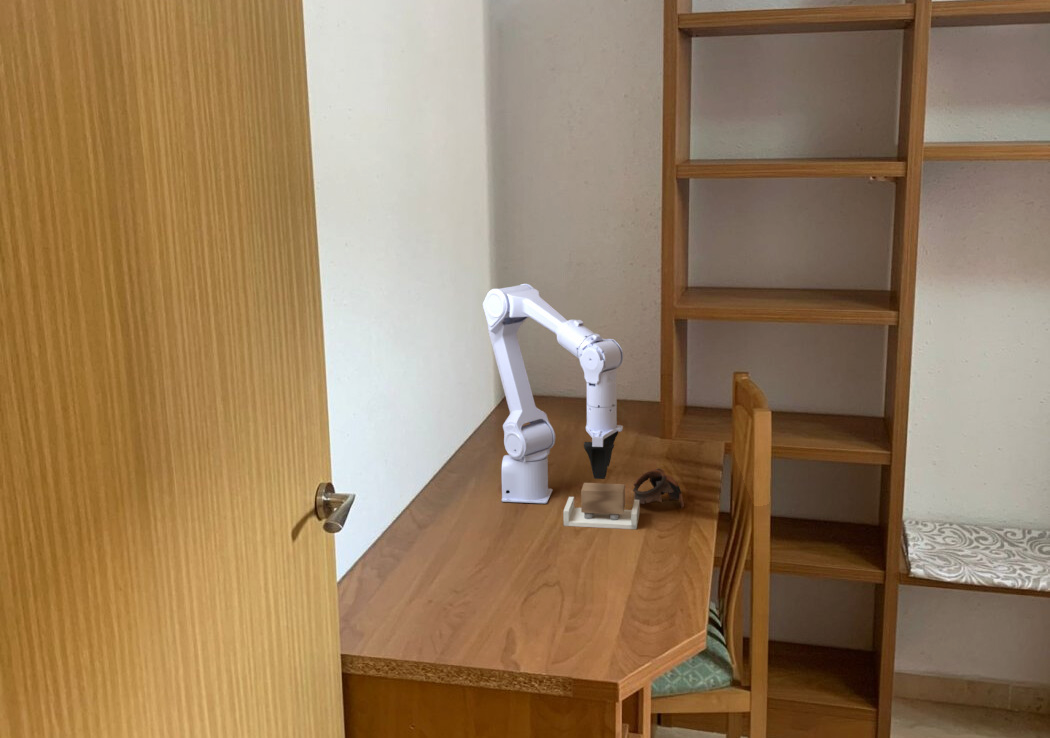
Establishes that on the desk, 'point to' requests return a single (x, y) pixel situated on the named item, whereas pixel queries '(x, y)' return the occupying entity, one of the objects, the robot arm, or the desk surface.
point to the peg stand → (600, 517)
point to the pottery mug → (657, 488)
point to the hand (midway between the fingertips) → (601, 471)
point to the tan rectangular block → (603, 498)
